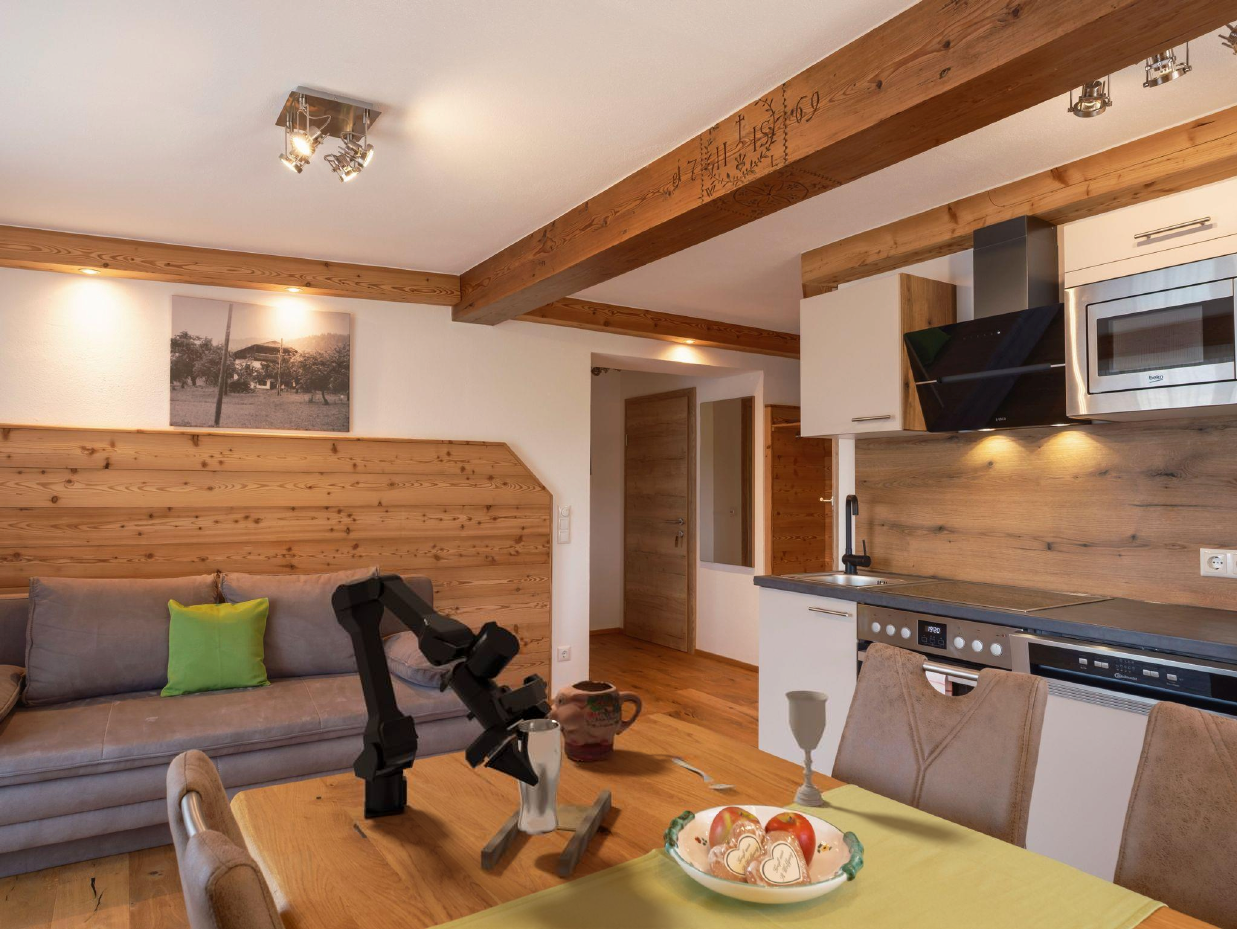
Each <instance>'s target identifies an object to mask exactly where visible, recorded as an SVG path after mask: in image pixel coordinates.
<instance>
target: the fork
mask: <svg viewBox="0 0 1237 929" xmlns="http://www.w3.org/2000/svg"><path fill="white" fill-rule="evenodd" d="M671 758H672V760H671V762H673V763H675V764H677V765H679V766H681V767H683V768H686V769H689V770H691V771H694V772H697V773H699V774H700V775H701V776H702V777H703V778H704V779H703V780H704V783H709V782H714V781H715V780H714V779H713V778H711V777H709V775H707V774H706V773H705V772H704V771H702V770H700V769H698V768H695V767H694V766H691V765H690V764H688V763H685V762H684V761H682V760H680V759H678V758H675V757H671ZM708 787H709V788H711V789H716V790H718V789H719V790H721V789H722V790H723V789H731V788H736V787H737V785H732V784H731V785H729V784H724V783H721V784H715V785H708Z"/></svg>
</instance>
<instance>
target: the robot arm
mask: <svg viewBox="0 0 1237 929" xmlns="http://www.w3.org/2000/svg"><path fill="white" fill-rule="evenodd" d="M330 601H331V602H330V603H331V606H332V607H331V608H333V612H334V615H335V618H336V621H337V623H338V625H339V626H341V628H342V629H344V631H346V633H347V634H348V635H349V636H350V639H351V643H352V649H353V654H354V657H355V658H354V659H355V662H356V666H357V670H358V675H359V676H358V677H359V681H360V684H361V690H362V693H363V694H362V695H363V697H364V698H363V699H364V702H365V707H366V711H367V717H368V719H367V722H366V724H365V729H364V731H363V734H362V740H363V742H362V743H363V750H362V751H361V752H360V754H359V755H358V756H357V758H356V759H355V760H354V761H353V763H352V767H353V772H354V776H355V777H356V778H359V779H362V780H364V803H363V805H364V806H363V816H364V818H372V817H373V818H374V817H379V816H380V817H381V816H387V815H396V814H403V813H405V806H407V805H408V779H407V776H406V775H404V770H408V769H412V768H413V767H414V763H415V758H416V755H417V751H418V749H419V745H418V740H419V735H418V734H417V730H416V727H415V719H414V716H412V715H411V714H409V715H405V714H404V712H402V711H401V710H400V709H399V707H398V703H397V697H396V693H395V689H394V685H393V680H392V676H391V672H390V669H389V667H390V666H389V663H388V659H387V656H386V649H385V646H384V641H383V638H382V634H381V629H380V628H381V624H382V621H383V617H384V615H385V613H386V612H385V611H386V610H385V609H387V610H388V611H389V612H390V613H391V614H392V615H393V616H395V617H396V619H398V620H399V622H401V623H402V624H403V625H404V626H405V627H406V628H407V629H408V630H410V631H411V632H412V633H413V635H415V637H416V638H417V643H418V644H417V645H418V650H419V651H420V652H421V654H422V655H423V656H424V657H425V659H426V660H427V662H428V663H429V664H430V665H432V666H433V667H436V668H437V667H441V666H443V667H444V666H447V665H451V664H455V663H456V664H455V665H454V666H453V667H452V668H451V669H449V670H447V671H445V672H443V673H440V677H439V678H440V683H439V692H440V693H445V692H446V691H448V690H450V689H451V690H452V692H453V693H454V694H455V695H456V696H457V698H458V699H459V700H460V701H461V703H462V704H463V705H464V707H465V708H466V709H467V710H468V711H469V713H468V714H467V715H466V716H465V717H466V718H467V719H468V721H469V722H471V721H474V720H476V721H477V723H478V724H479V725H480V727H481V728H482V729H483V732H481V733H480V735H479V736H478V737H477V738H475V739H474V741H473V742H472V743H471V744H469V746H468V747H467V748H466V749H465V752H464V756H465V761H466V762H467V764H468V765H469V766H470V767H471V769H472V770H475V769H476V768H478V767H479V766H481V765H483V763H484V765H483V767H484V768H485V769H487V768H490V769H492V770H495V771H498V772H500V773H503V774H505V775H508V776H509V777H512V778H514V779H516V780H517V779H518V780H520V781H522V782H525V783H527V784H529V785H531V786H535V785H537V784H538V782H539V780H538V778H537V777H536V775H535V773H534V772H533V770H532V769H531V767H530V766H529V764H528V763H527V761H526V760H525V758H524V757H523V755H522V754H521V752H520V751H519V744H518V735H516V732H517V725H518V724H519V723H521V722H523V721H527V720H533V719H548V714H549V713H550V712H551V711H552V708H551V707H552V706H551V705H550V703H549V702H547V699H548V694H547V692H546V689H547V688H548V683H547V681H545V680H544V679H543V677H541V676H540V675H538V673H536V672H535V673H533V674H531V675H530V674H529V675H528V676H526V677H524V678H523V682H522V683H523V685H521V686H519V687H516V688H515V689H511V688H510V686H508V685H506V684H503V685H501V686H500V685H499V684H498V683H497V681H496V680H495V679H496V678H498V677H499V675H501V673H503V671H504V670H505V669H506V668H507V667H508V665H509V664H510V663H511V662H512V661H513V659H515V658H516V656H517V655H518V654H519V652H520V651H521V650H520V648H521V645H520V641H519V638H517V636H516V635H515V634H513V633H512V632H511V631H510V630H508V629H507V628H505V627H502V626H499V625H498V623H497V622H496V621H495V620H492V621H487V622H486V621H485V622H484V624H483V625H482V626H481V627H480V629H479V632H478V633H475V632H474V631H472V629H471V628H470V627H469V626H468V625H466V624H465V623H463V622H461V621H460V620H458V619H456V618H453V617H449V616H444V615H442V614H441V613H438V612H437V611H436V610H435V609H434V608H433V607H432V606H431V605H430V604H428V603H427V602H426V601H425V600H424V599H423V598H422V597H421V596H419V595H418V593H416V592H415V591H414V590H413V589H411V587H409V586H408V585H407V584H406V583H405V582H404V580H403V578H402V577H401V575H399V574H395V573H390V574H388V573H386V574H379V575H374V576H373V577H370V578H368V579H366V580H363V581H357V582H350V583H349V582H348V583H341V584H339V585H338V586H336V588H335V590H334V592H333V593H332V595H331V600H330ZM548 720H549V719H548ZM486 758H488V760H487V762H485V761H486V760H485V759H486ZM518 780H517V781H518Z"/></svg>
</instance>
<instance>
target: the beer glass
mask: <svg viewBox="0 0 1237 929" xmlns="http://www.w3.org/2000/svg"><path fill="white" fill-rule="evenodd" d="M516 735H518V744H519V751H520V752H521V754H522V755H523V757H524V758H525V760H526V761H527V763H528V764H529V766H530V767H531V769H532V770H533V772H534V773H535V775H536V777H537V778H538V780H539V782H538V784H537V785H535V786H531V785H529V784H527V783H525V782H522V781H520V780H518V779H516V780H517V783H518V784H517V785H518V789H519V796H520V806H521V809H520V815H519V821H518V829H519V830H520V831H521V833H523V834H526V835H533V836H542V835H547V834H551V833H553V832H554V831H556V830H558V829H557V828H558V825H559V823H558V816H557V811H556V803H557V792H558V787H559V781H560V776H561V775H560V774H561V768H562V760H563V759H562V756H563V753H562V752H563V751H562V749H563V748H562V746H563V744H562V732H561V730H560V723H558V722H557V721H554V720H549V719H533V720H527V721H523V722H521V723H519V724H518V725H517V732H516ZM516 735H515V736H516Z"/></svg>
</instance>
